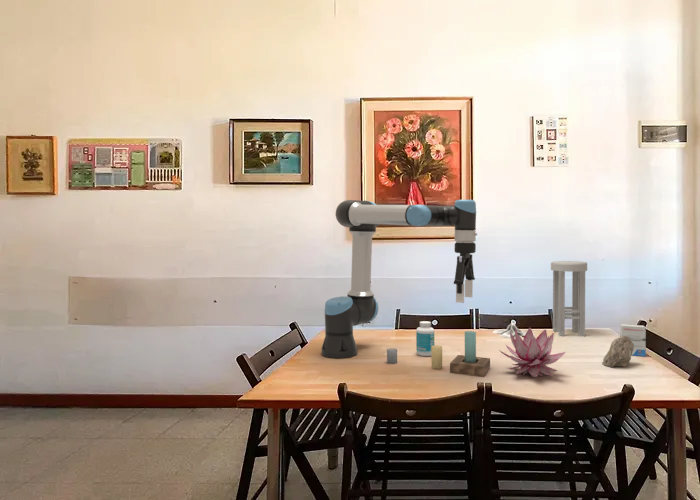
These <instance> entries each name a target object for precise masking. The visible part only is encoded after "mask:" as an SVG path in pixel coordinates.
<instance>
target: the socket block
mask: <svg viewBox="0 0 700 500" xmlns="http://www.w3.org/2000/svg"><path fill="white" fill-rule="evenodd" d="M490 369H491V358H490V357H484V356H483V357H482V356H481V357H480V356H476V363H469V362H465V354H464V355H463V354H458V355H456V356H455V357H454V359H452V360H451V361H450V363H449V373H451V374H459V375H465V376H466V375H467V376H476V377H482V378H484V377H486V374H487V373H488V371H490Z"/></svg>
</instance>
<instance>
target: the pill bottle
mask: <svg viewBox="0 0 700 500" xmlns="http://www.w3.org/2000/svg"><path fill="white" fill-rule="evenodd" d="M415 335H416V336H415V337H416V339H415V340H416V341H415V343H416V348H415V349H416V350H415V351H416V354H417V355H418V356H419V357H431V346H433V345H435V329H434V328H433V327H432V321H426V320H423V321H419V327H417V328H416V334H415Z"/></svg>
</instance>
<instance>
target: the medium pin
mask: <svg viewBox="0 0 700 500" xmlns="http://www.w3.org/2000/svg"><path fill="white" fill-rule="evenodd" d="M430 357H431V369H433V370H442V369H443V346H442V345H439V344H434V345H433V346H431V356H430Z"/></svg>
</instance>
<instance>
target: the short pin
mask: <svg viewBox="0 0 700 500" xmlns="http://www.w3.org/2000/svg"><path fill="white" fill-rule="evenodd" d="M386 363H387V364H388V365H389V364H390V365H394V364H398V349H397V348H387V349H386Z"/></svg>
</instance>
